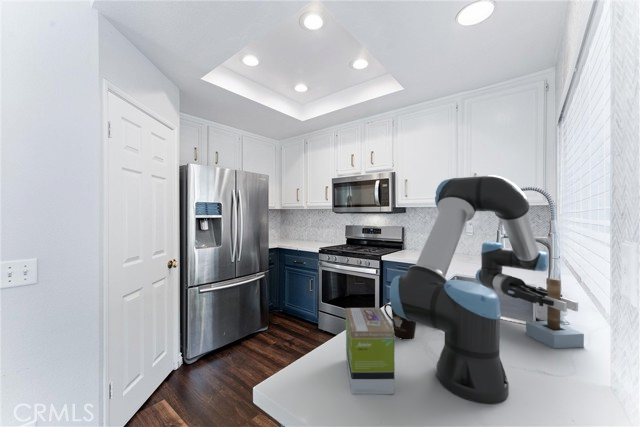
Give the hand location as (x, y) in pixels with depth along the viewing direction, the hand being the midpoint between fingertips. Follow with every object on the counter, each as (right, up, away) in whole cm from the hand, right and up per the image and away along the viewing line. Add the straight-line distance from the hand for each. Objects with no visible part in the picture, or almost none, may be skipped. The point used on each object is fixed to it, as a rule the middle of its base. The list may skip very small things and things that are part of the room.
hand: (571, 307), depth 83 cm
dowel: (-1, -9, +6) cm, 11 cm away
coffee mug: (-48, -12, +9) cm, 51 cm away
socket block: (-1, -12, +5) cm, 14 cm away
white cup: (+11, -13, +23) cm, 29 cm away
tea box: (-64, -13, -14) cm, 67 cm away
